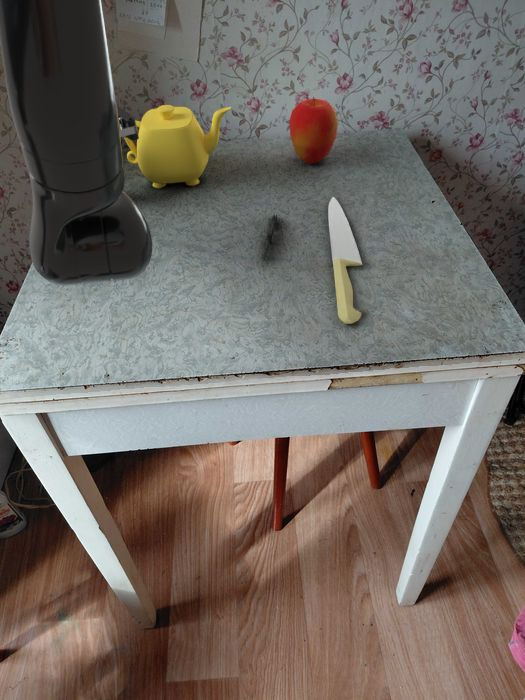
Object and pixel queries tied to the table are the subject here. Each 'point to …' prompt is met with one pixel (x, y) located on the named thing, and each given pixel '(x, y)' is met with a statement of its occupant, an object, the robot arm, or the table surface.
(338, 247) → the knife
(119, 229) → the robot arm
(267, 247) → the folding knife
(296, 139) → the apple
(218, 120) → the teapot
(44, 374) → the table surface
